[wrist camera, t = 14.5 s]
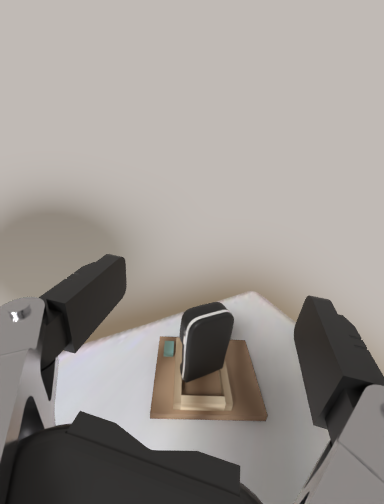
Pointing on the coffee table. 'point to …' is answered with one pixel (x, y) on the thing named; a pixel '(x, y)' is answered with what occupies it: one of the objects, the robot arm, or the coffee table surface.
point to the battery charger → (204, 339)
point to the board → (206, 387)
